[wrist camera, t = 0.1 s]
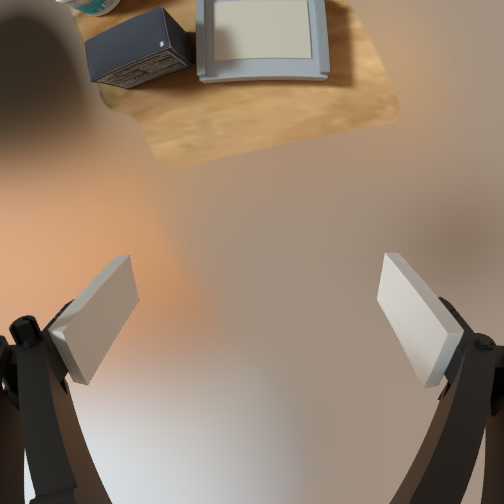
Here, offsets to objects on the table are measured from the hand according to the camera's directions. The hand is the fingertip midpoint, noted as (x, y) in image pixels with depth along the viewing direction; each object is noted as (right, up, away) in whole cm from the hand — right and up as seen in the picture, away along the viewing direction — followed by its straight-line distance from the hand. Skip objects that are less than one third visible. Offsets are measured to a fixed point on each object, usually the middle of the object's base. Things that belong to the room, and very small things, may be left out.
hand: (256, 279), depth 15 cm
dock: (+1, +30, +17) cm, 35 cm away
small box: (-14, +28, +19) cm, 37 cm away
